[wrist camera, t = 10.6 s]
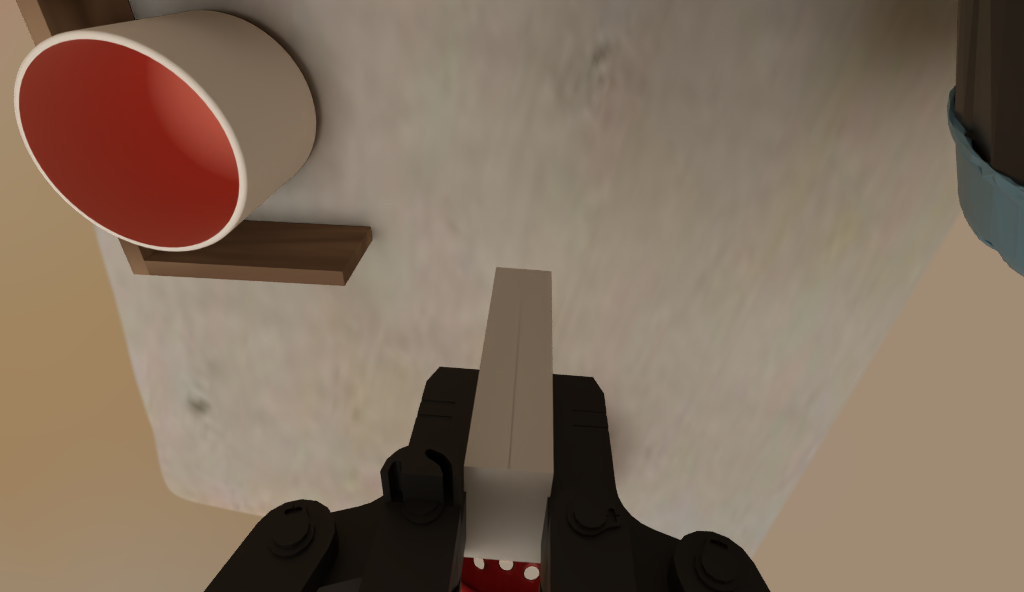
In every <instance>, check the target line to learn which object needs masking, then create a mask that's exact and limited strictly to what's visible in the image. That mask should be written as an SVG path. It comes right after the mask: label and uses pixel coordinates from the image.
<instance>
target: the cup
mask: <svg viewBox="0 0 1024 592" xmlns="http://www.w3.org/2000/svg"><path fill="white" fill-rule="evenodd" d="M14 108H15V115H16V120H17V124H18V127H19V131H20V134H21V137H22V139H23V141H24V144H25V146H26V148H27V150H28V152H29V154H30V156H31V158H32V159H33V161H34V162H35V164H36V166H37V168H38V169H39V171H40V172H41V173H42V175H43V176H44V178H45V179H46V180H47V181H48V183H49V184H50V185H51V186H52V187H53V189H54V190H55V191H56V192H57V193H58V194H59V195H60V196H61V197H62V198H63V199H64V200H65V201H66V202H67V203H68V204H69V205H70V206H71V207H73V208H74V209H75V210H76V211H77V212H79V213H80V214H81V215H82V216H84V217H85V218H86V219H88V220H89V221H91V222H92V223H94V224H95V225H96V226H98V227H100V228H102V229H103V230H105V231H107V232H108V233H110V234H112V235H114V236H116V237H119V238H121V239H123V240H125V241H128V242H131V243H133V244H136V245H140V246H143V247H146V248H151V249H156V250H163V251H190V250H196V249H200V248H203V247H207V246H209V245H211V244H214V243H215V242H217V241H219V240H221V239H222V238H223V237H225V236H226V235H227V234H228V233H229V232H231V231H232V230H233V229H234V228H235V227H236V226H237V225H238V224H239V223H241V222H242V221H243V220H244V219H245V218H246V217H247V216H248V215H250V214H251V213H252V212H253V211H254V210H255V209H256V208H257V207H259V206H260V205H261V204H262V203H263V202H264V201H265V200H266V199H268V198H269V197H270V196H271V195H272V194H273V193H274V192H275V191H277V190H278V189H279V188H280V187H281V186H282V185H283V184H285V183H286V182H287V181H288V180H289V179H290V178H291V177H292V176H294V175H295V174H296V173H297V172H298V171H299V170H300V169H301V167H302V166H303V165H304V163H305V162H306V160H307V159H308V157H309V155H310V153H311V150H312V148H313V144H314V140H315V135H316V113H315V106H314V103H313V99H312V96H311V92H310V90H309V87H308V85H307V82H306V80H305V78H304V76H303V75H302V73H301V71H300V70H299V68H298V66H297V65H296V63H295V62H294V61H293V59H292V58H291V57H290V55H289V54H288V53H287V52H286V51H285V50H284V49H283V48H282V47H281V46H280V45H279V44H278V43H277V42H276V41H275V40H274V39H273V38H272V37H270V36H269V35H268V34H266V33H265V32H264V31H262V30H261V29H259V28H257V27H256V26H254V25H253V24H251V23H249V22H247V21H245V20H243V19H240V18H238V17H235V16H232V15H229V14H225V13H221V12H216V11H208V10H195V11H187V12H181V13H175V14H169V15H163V16H157V17H151V18H145V19H139V20H133V21H127V22H121V23H116V24H110V25H104V26H98V27H92V28H86V29H80V30H74V31H68V32H64V33H60V34H57V35H54V36H52V37H50V38H47V39H46V40H44V41H42V42H41V43H39V44H38V45H37V46H36V47H35V48H33V50H32V51H31V52H30V53H29V54H28V55H27V56H26V58H25V59H24V61H23V62H22V64H21V66H20V69H19V71H18V74H17V77H16V82H15V87H14Z"/></svg>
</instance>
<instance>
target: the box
mask: <svg viewBox="0 0 1024 592" xmlns="http://www.w3.org/2000/svg"><path fill="white" fill-rule="evenodd" d="M16 2H17V4H18V6H19V9H20V11H21V13H22V16H23V18H24V20H25V22H26V25H27V27H28V30H29V32H30V34H31V37H32V39H33V41H34V43H35V46H37V45H38V44H39V43H41V42H42V41H44V40H46V39H47V38H50V37H52V36H54V35H57V34H60V33H64V32H68V31H74V30H80V29H86V28H92V27H98V26H104V25H110V24H116V23H121V22H127V21H133V20H134V17H133V14H132V11H131V8H130V4H129V1H128V0H16ZM118 239H119V241H120V243H121V246H122V248H123V250H124V253H125V255H126V257H127V260H128V262H129V264H130V267H131V269H132V271H133V273H134V274H140V275H158V276H176V277H194V278H213V279H231V280H249V281H267V282H285V283H303V284H321V285H339V286H345V285H346V283H347V281H348V280H349V278H350V276H351V275H352V273H353V271H354V270H355V268H356V266H357V265H358V263H359V261H360V260H361V258H362V256H363V255H364V253H365V251H366V250H367V248H368V246H369V245H370V243H371V241H372V234H371V227H362V226H342V225H323V224H304V223H285V222H265V221H246V220H243V221H242V222H241V223H239V224H238V225H237V226H236V227H235V228H234V229H233V230H232V231H231V232H229V233H228V234H227V235H226V236H225V237H223V238H222V239H221V240H219V241H217V242H215V243H214V244H211V245H209V246H207V247H203V248H200V249H196V250H190V251H163V250H156V249H151V248H146V247H143V246H140V245H136V244H133V243H131V242H128V241H125V240H123V239H121V238H119V237H118Z"/></svg>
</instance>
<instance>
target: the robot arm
mask: <svg viewBox="0 0 1024 592" xmlns="http://www.w3.org/2000/svg"><path fill="white" fill-rule="evenodd" d="M947 112H948V125H949V128H950V132H951V135H952V137H953V139H954V141H955V144H956V161H957V178H958V196H959V201H960V206H961V208H962V210H963V214H964V216H965V218H966V220H967V222H968V224H969V226H970V227H971V228H972V230H973V232H974V233H975V234H976V236H977V237H978V239H979V240H981V241H982V242H983V243H985V244H986V245H987V246H989V247H991V248H992V249H995V250H996V251H998V252H999V254H1000V255H1001V257H1002V258H1003V260H1004V261H1005V262H1006V263H1007V264H1008V265H1009V267H1010V268H1012V269H1013V270H1015V271H1016V272H1017V273H1019V274H1020V275H1022V276H1023V277H1024V0H958V16H957V55H956V86H955V87H954V88H953V89H952V90H951V91H950V94H949V99H948V105H947ZM380 473H381V480H382V488H383V496H382V497H380V498H378V499H377V500H375V501H373V502H371V503H368V504H365V505H362V506H359V507H354V508H349V509H345V510H340V511H336V512H330V510H329V509H328V507H326V506H324V505H323V504H321V503H319V502H317V501H313V500H304V499H301V500H296V501H291V502H287V503H284V504H282V505H281V506H279V507H277V508H275V509H273V510H271V511H270V512H269V513H268V514H267V515H266V516H265V517H263V518H262V519H261V520H260V521H259V522H258V523H257V524H256V526H255V527H254V528H253V530H252V531H251V532H250V533H249V535H248V536H247V537H246V539H245V540H244V541H243V542H242V544H241V545H240V546H239V548H238V549H237V550H236V551H235V553H234V554H233V555H232V556H231V558H230V559H229V560H228V562H227V563H226V564H225V565H224V567H223V568H222V569H221V571H220V572H219V573H218V574H217V575H216V577H215V578H214V579H213V581H212V582H211V583H210V584H209V586H208V587H207V588H206V589H205V591H204V592H461V572H462V565H463V558H464V557H471V558H483V559H495V560H507V561H518V562H530V563H540V562H541V576H540V586H539V592H770V590H769V589H768V587H767V585H766V583H765V581H764V580H763V578H762V577H761V574H760V573H759V571H758V569H757V568H756V566H755V564H754V562H753V561H752V560H751V559H750V557H749V556H748V555H747V554H746V552H745V551H744V550H743V549H742V548H741V547H740V546H738V545H737V544H736V543H734V542H733V541H732V540H730V539H729V538H727V537H725V536H722V535H720V534H717V533H714V532H709V531H696V532H693V533H690V534H688V535H685V536H684V537H683V538H682V539H681V540H679V539H676V538H674V537H671V536H669V535H666V534H664V533H661V532H659V531H656V530H654V529H651V528H649V527H648V526H646V525H644V524H642V523H640V522H639V521H638V520H636V519H635V518H634V517H633V516H631V514H630V513H629V512H628V511H627V510H626V509H625V508H624V506H623V504H622V503H621V501H620V499H619V497H618V494H617V490H616V485H615V477H614V469H613V461H612V453H611V445H610V437H609V431H608V422H607V416H606V406H605V398H604V393H603V392H602V390H601V389H600V387H599V386H598V384H597V383H596V381H595V380H594V378H593V377H584V376H571V375H558V374H553V371H552V277H551V271H541V270H527V269H514V268H500V267H496V272H495V279H494V285H493V291H492V297H491V303H490V309H489V315H488V321H487V328H486V334H485V340H484V346H483V352H482V358H481V364H480V370H476V369H463V368H450V367H439V368H438V369H437V370H436V372H435V373H434V374H433V375H432V376H431V377H430V378H429V379H428V380H427V382H426V385H425V389H424V393H423V396H422V401H421V403H420V407H419V410H418V415H417V418H416V421H415V425H414V428H413V432H412V435H411V439H410V442H409V446H406V447H404V448H401V449H399V450H397V451H396V452H395V453H394V454H393V455H391V456H390V457H389V458H388V459H387V460H386V462H385V464H384V465H383V467H382V469H381V471H380Z"/></svg>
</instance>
